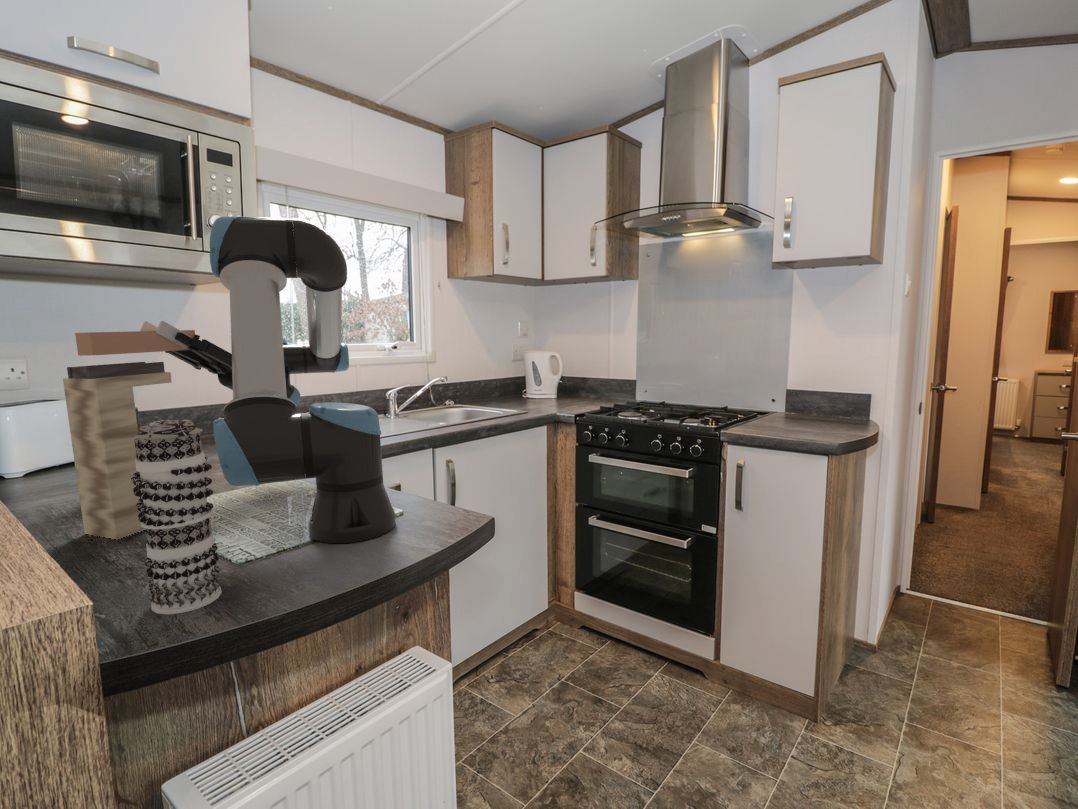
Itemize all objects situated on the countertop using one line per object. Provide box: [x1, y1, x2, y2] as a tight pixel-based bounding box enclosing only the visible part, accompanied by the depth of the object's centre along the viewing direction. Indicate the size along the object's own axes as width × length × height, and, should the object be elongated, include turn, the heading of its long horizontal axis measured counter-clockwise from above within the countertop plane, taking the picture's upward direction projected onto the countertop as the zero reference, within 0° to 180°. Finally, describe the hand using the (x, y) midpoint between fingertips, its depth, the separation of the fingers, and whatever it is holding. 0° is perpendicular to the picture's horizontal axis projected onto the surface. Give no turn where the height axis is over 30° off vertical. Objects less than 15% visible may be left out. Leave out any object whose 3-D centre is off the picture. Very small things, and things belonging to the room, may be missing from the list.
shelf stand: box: [62, 361, 173, 541], centre depth 108 cm, size 9×14×31 cm, turn 159°
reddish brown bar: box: [74, 329, 196, 357], centre depth 110 cm, size 4×20×4 cm, turn 159°
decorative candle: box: [131, 418, 223, 615], centre depth 78 cm, size 9×9×25 cm
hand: (151, 327), depth 112 cm, fingers closed on reddish brown bar, 4 cm apart
